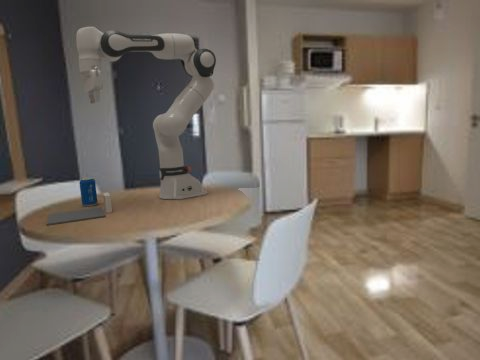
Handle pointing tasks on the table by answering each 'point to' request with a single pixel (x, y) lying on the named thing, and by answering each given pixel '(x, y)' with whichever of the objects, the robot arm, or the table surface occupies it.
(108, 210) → the tile
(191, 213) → the table surface
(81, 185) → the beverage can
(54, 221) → the mat
